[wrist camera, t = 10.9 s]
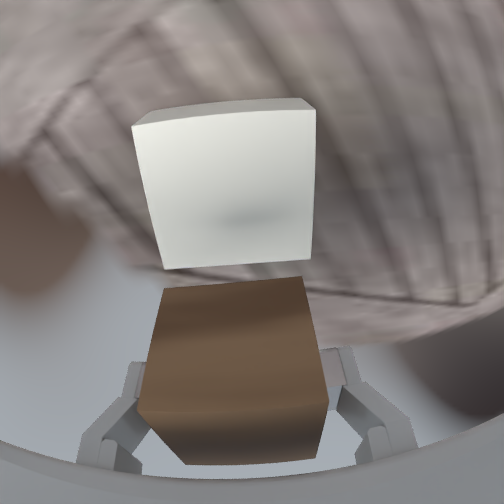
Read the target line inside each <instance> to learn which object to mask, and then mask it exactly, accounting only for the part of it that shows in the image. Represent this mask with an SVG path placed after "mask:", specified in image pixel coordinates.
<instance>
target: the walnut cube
mask: <svg viewBox="0 0 504 504" xmlns="http://www.w3.org/2000/svg"><path fill="white" fill-rule="evenodd" d="M328 406H329V397H328V392H327V387H326V382H325V377H324V372H323V367H322V363H321V358H320V353H319V349H318V344H317V340H316V335H315V331H314V326H313V322H312V317H311V313H310V309H309V304H308V300H307V296H306V291H305V287H304V283H303V279H302V276H298V277H289V278H279V279H268V280H258V281H247V282H236V283H225V284H213V285H201V286H189V287H176V288H164V291H163V294H162V298H161V302H160V306H159V310H158V315H157V318H156V323H155V327H154V331H153V335H152V339H151V344H150V348H149V353H148V357H147V362H146V366H145V371H144V376H143V381H142V386H141V391H140V396H139V401H138V406H137V411H138V413H139V414H140V415H141V416H142V417H143V419H144V420H145V421H146V422H147V423H148V425H149V426H150V427H151V428H152V429H153V430H154V431H155V433H156V434H157V435H158V436H159V437H160V438H161V439H162V440H163V441H164V443H166V445H167V446H168V447H169V448H170V449H171V450H172V451H173V452H174V453H175V454H176V455H177V456H178V457H179V458H180V460H182V462H183V463H184V464H185V465H246V464H247V465H248V464H265V463H278V462H288V461H297V460H305V459H313V458H315V457H316V454H317V450H318V446H319V443H320V439H321V435H322V431H323V427H324V423H325V418H326V414H327V410H328Z"/></svg>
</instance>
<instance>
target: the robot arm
mask: <svg viewBox="0 0 504 504" xmlns="http://www.w3.org/2000/svg"><path fill="white" fill-rule="evenodd" d="M319 353H320V358H321V363H322V367H323V372H324V377H325V382H326V387H327V392H328V397H329V406H328V410H327V411H329V410H336V409H337V410H336V411H337V412H338V413H339V414H340V415H341V416H342V417H343V418H344V419H345V420H346V421H347V422H348V424H349V425H350V426H351V427H352V428H353V429H354V430H355V431H356V432H357V433H358V434H359V435H360V436H361V437H362V438H363V441H362V442H361V444H360V446H359V447H358V449H357V450H356V452H355V458H356V464H357V465H353V466H348V467H343V468H337V469H332V470H326V471H320V472H313V473H306V474H297V475H289V476H279V477H267V478H250V479H188V478H171V477H157V476H149V475H141V473H142V463H141V462H140V461H139V460H138V459H137V458H135V457H134V456H133V455H132V453H133V452H134V450H135V449H136V448H137V446H138V445H139V444H140V442H141V441H142V439H143V438H144V436H145V435H146V434H147V433H148V431H149V430H150V429H151V427H150V426H149V425H148V423H147V422H146V421H145V420H144V419H143V417H142V416H141V415H140V414H139V413H138V411H137V406H138V401H139V396H140V391H141V386H142V381H143V376H144V371H145V366H146V362H131V363H130V365H129V368H128V372H127V376H126V380H125V384H124V388H123V393H122V397H118V398H117V399H116V400H115V401H114V402H113V403H112V404H111V405H110V406H109V408H107V409H106V410H105V412H104V413H103V414H102V415H101V416H100V417H99V418H98V419H97V420H96V421H95V422H94V423H93V424H92V425H91V426H90V427H89V428H88V429H87V430H86V431H85V432H84V433H83V434H82V438H81V443H80V447H79V451H78V455H77V460H76V463H73V462H68V461H64V460H60V459H56V458H53V457H49V456H45V455H42V454H39V453H36V452H33V451H29V450H26V449H23V448H20V447H17V446H14V445H12V444H9V443H6V442H3V441H1V440H0V504H504V414H502V415H500V416H498V417H496V418H494V419H491V420H489V421H487V422H485V423H483V424H481V425H478V426H476V427H474V428H472V429H469V430H467V431H464V432H462V433H459V434H457V435H454V436H452V437H449V438H447V439H444V440H441V441H438V442H436V443H433V444H430V445H427V446H424V447H421V448H418V445H417V442H416V439H415V435H414V432H413V429H412V425H411V422H410V419H409V417H408V416H406V415H405V414H404V413H403V412H402V411H400V410H399V409H398V408H397V407H395V406H394V405H393V404H392V403H391V402H389V401H388V400H387V399H386V398H384V397H383V396H382V395H381V394H380V393H379V392H377V391H376V390H375V389H374V388H373V387H371V386H370V385H369V384H368V383H366V382H362V381H361V378H360V374H359V371H358V367H357V364H356V361H355V357H354V354H353V351H352V348H351V347H350V346H344V347H338V348H336V347H335V348H329V349H322V350H319Z"/></svg>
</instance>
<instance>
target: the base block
mask: <svg viewBox="0 0 504 504" xmlns="http://www.w3.org/2000/svg"><path fill="white" fill-rule="evenodd" d="M131 127H132V132H133V138H134V143H135V148H136V153H137V158H138V163H139V168H140V172H141V177H142V182H143V186H144V191H145V195H146V199H147V203H148V208H149V212H150V216H151V220H152V224H153V228H154V232H155V236H156V240H157V243H158V247H159V251H160V255H161V258H162V262H163V265H164V269H177V268H192V267H207V266H221V265H235V264H249V263H263V262H277V261H290V260H304V259H311V245H312V228H313V208H314V183H315V146H316V110H315V109H314V108H313V107H312V106H311V105H309V104H308V103H307V102H306V101H304V100H303V99H302V98H272V99H252V100H237V101H225V102H214V103H205V104H196V105H188V106H181V107H174V108H167V109H160V110H154V111H150V112H149V113H147V114H146V115H145V116H144V117H142V118H141V119H140V120H139V121H137V122H136V123H135V124H134V125H132V126H131Z"/></svg>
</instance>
